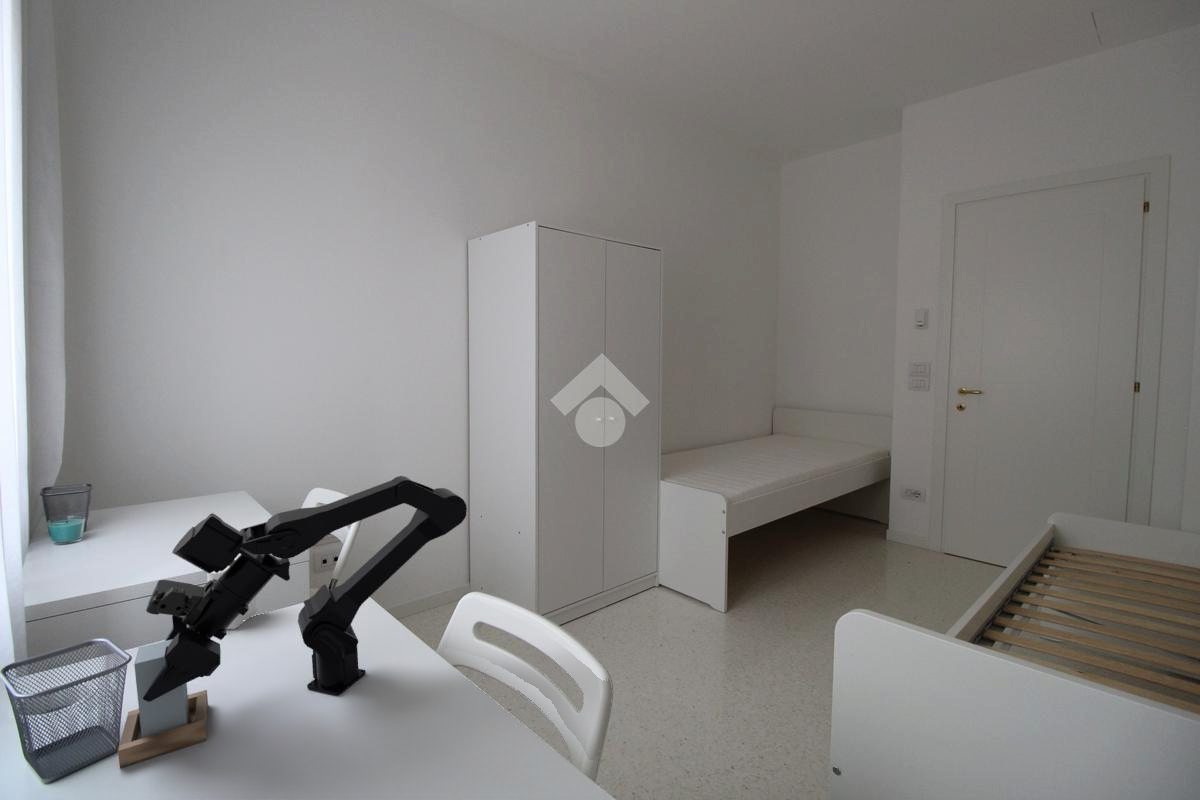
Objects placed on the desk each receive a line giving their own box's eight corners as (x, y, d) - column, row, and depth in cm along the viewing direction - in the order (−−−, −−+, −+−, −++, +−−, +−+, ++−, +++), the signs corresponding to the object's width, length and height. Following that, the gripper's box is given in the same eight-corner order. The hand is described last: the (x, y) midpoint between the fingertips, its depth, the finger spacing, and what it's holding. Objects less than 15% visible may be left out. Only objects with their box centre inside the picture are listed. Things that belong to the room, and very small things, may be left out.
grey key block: (189, 716, 85) (182, 636, 83) (187, 735, 81) (180, 652, 79) (147, 728, 82) (138, 647, 81) (143, 749, 78) (134, 663, 76)
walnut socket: (208, 704, 88) (206, 689, 88) (206, 740, 80) (204, 723, 80) (130, 727, 83) (128, 711, 82) (119, 768, 75) (117, 750, 75)
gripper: (189, 540, 88) (104, 627, 84) (181, 583, 73) (76, 693, 68) (252, 577, 94) (175, 661, 89) (257, 624, 78) (164, 729, 73)
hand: (149, 682), depth 80 cm, fingers open, 9 cm apart
